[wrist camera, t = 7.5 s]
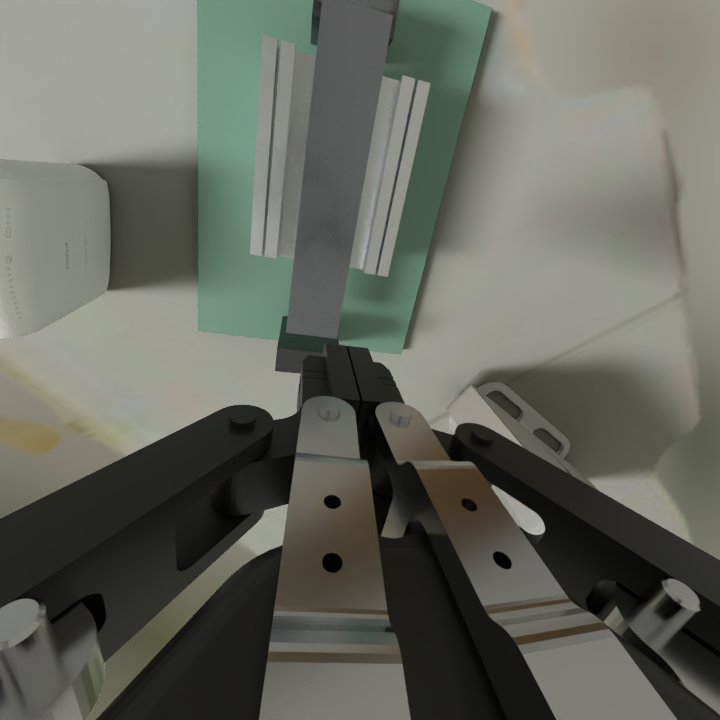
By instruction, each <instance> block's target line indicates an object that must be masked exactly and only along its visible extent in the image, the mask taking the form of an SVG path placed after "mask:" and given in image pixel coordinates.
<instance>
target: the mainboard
mask: <svg viewBox="0 0 720 720" xmlns="http://www.w3.org/2000/svg"><path fill="white" fill-rule="evenodd" d="M312 9H313V0H197V14H198V331H203V332H212V333H220V334H229V335H237V336H246V337H254V338H263V339H271V340H279V335H280V329H281V323H282V317H288V308H289V299H290V290H291V281H292V272H293V263H294V258H289V257H283V256H277V258H270V257H265V253H263V255H262V256H258V255H252V254H250V244H251V227H252V210H253V192H254V175H255V158H256V140H257V123H258V106H259V88H260V71H261V54H262V37H263V34H264V35H268V36H271V37H274V38H277V39H278V45H279V46H281V40H285V41H288V42H291V43H295V44H296V51H298V52H301V53H305V54H308V55H312V56H315V57H316V52H317V46H316V45H313V44H311V24H312ZM491 11H492V7H489V6H486V5H483V4H480V3H477V2H475V1H472V0H400V3H399V9H398V15H397V20H396V26H395V31H394V37H393V41H392V42H391V44H390V46H389V47H388V49H387V54H386V60H385V65H384V71H383V76H385V77H388V78H391V79H395V80H399V79H400V78H401V77H402V76H403V75H404V76H407V77H411V78H414V79H415V82H416V81H418V80H421V81H425V82H428V83H431V84H430V88H429V93H428V97H427V102H426V106H425V111H424V115H423V120H422V124H421V129H420V133H419V138H418V142H417V147H416V151H415V156H414V160H413V165H412V169H411V174H410V178H409V183H408V187H407V192H406V196H405V201H404V205H403V210H402V214H401V219H400V223H399V228H398V232H397V237H396V241H395V246H394V250H393V255H392V259H391V264H390V268H389V273H388V277H385V276H379V275H377V274H376V273H375V275H373V274H367V273H364V272H363V270H361V269H355V268H349V271H348V276H347V282H346V288H345V294H344V299H343V305H342V311H341V316H340V322H339V328H338V334H337V337H338V341H339V345H346V346H355V347H363V348H368V350H369V351H374V352H382V353H391V354H399V355H401V353H402V349H403V346H404V342H405V338H406V334H407V330H408V327H409V323H410V319H411V315H412V311H413V308H414V304H415V300H416V296H417V292H418V289H419V285H420V281H421V277H422V273H423V269H424V266H425V262H426V258H427V254H428V250H429V247H430V243H431V239H432V235H433V231H434V228H435V224H436V220H437V216H438V212H439V209H440V205H441V201H442V197H443V193H444V190H445V186H446V182H447V178H448V174H449V171H450V167H451V163H452V159H453V155H454V151H455V148H456V144H457V140H458V136H459V132H460V129H461V125H462V121H463V117H464V113H465V110H466V106H467V102H468V98H469V94H470V91H471V87H472V83H473V79H474V75H475V72H476V68H477V64H478V60H479V56H480V53H481V49H482V45H483V41H484V37H485V33H486V30H487V26H488V22H489V18H490V14H491Z"/></svg>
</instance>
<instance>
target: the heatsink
mask: <svg viewBox="0 0 720 720" xmlns="http://www.w3.org/2000/svg"><path fill="white" fill-rule="evenodd" d="M321 6H322V2H320V1H318V0H313V9H312V24H311V44H313V45H316V46H317V43H318V34H319V24H320V15H321ZM398 9H399V8H398ZM397 15H398V13H397ZM396 20H397V17H396ZM396 20H395V23H394V25H391V31H390V37H389V42H388V47H389V46H390V44H391V42H392V41H393V37H394V31H395V26H396ZM387 49H388V48H387ZM315 61H316V57H315V56H312V55H308V54H305V53H301V52H298V51H296V44H295V43H291V42H288V41H285V40H281V46H279V45H278V39H277V38H274V37H271V36H268V35H264V34H263V37H262V54H261V71H260V88H259V106H258V123H257V140H256V158H255V175H254V192H253V210H252V227H251V244H250V254H252V255H258V256H262V255H263V253H265V257H270V258H277V256H283V257H289V258H294V253H295V244H296V235H297V226H298V217H299V208H300V198H301V189H302V180H303V171H304V162H305V153H306V143H307V134H308V125H309V116H310V107H311V98H312V89H313V79H314V70H315ZM430 84H431V83H428V82H425V81H421V80H418V81H416V82H415V79H414V78H411V77H407V76H404V75H403V76H402V77H401V78H400V79H399V80H395V79H391V78H388V77H385V76H383V77H382V82H381V88H380V94H379V100H378V105H377V111H376V117H375V122H374V128H373V134H372V139H371V145H370V151H369V157H368V162H367V168H366V174H365V179H364V185H363V191H362V197H361V202H360V208H359V214H358V219H357V225H356V231H355V237H354V242H353V248H352V254H351V259H350V265H349V268H355V269H361V270H363V272H364V273H367V274H373V275H375V273H376V274H377V275H379V276H385V277H388V273H389V268H390V264H391V259H392V255H393V250H394V246H395V241H396V237H397V232H398V228H399V223H400V219H401V214H402V210H403V205H404V201H405V196H406V192H407V187H408V183H409V178H410V174H411V169H412V165H413V160H414V156H415V151H416V147H417V142H418V138H419V133H420V129H421V124H422V120H423V115H424V111H425V106H426V102H427V97H428V93H429V88H430ZM287 318H288V317H282V323H281V329H280V335H279V341H278V347H277V357H276V367H275V371H281V372H291V373H301V369H302V361H303V360H304V359H305V358H306V357H307V356H308V355H313V356H322V354H323V348H324V344H325V343H329V344H337V345H339V341H338V337H337V339H334V338H326V337H318V336H310V335H302V334H294V333H286V327H287Z"/></svg>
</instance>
